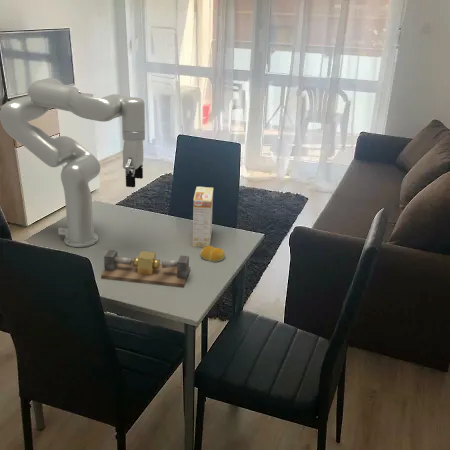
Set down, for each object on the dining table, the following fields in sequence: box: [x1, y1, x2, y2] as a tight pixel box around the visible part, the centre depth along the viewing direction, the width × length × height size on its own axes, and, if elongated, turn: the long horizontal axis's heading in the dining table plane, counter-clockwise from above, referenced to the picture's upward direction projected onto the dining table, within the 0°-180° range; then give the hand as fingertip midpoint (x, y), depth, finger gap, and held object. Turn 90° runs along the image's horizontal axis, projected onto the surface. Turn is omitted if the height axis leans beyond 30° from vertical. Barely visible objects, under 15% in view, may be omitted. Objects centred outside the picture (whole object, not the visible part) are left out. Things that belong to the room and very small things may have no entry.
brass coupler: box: [133, 250, 161, 275], centre depth 169 cm, size 8×5×6 cm, turn 83°
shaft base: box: [100, 249, 191, 288], centre depth 169 cm, size 28×12×7 cm, turn 83°
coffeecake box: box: [191, 186, 214, 248], centre depth 195 cm, size 15×7×20 cm, turn 178°
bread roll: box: [199, 245, 226, 263], centre depth 184 cm, size 8×9×4 cm
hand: (134, 182), depth 177 cm, fingers open, 9 cm apart
